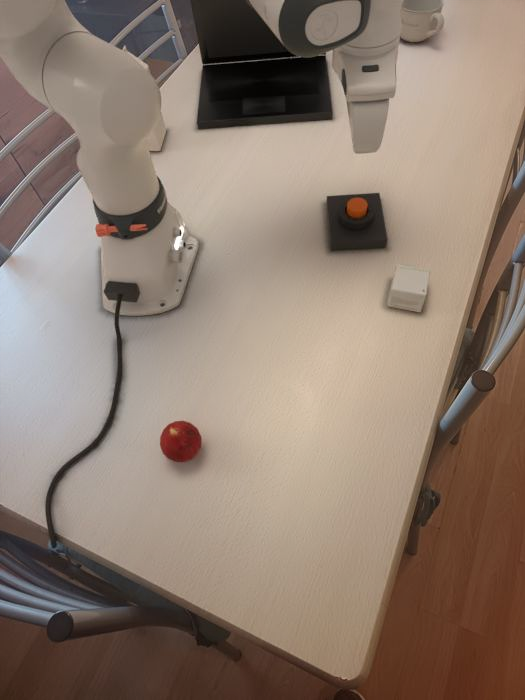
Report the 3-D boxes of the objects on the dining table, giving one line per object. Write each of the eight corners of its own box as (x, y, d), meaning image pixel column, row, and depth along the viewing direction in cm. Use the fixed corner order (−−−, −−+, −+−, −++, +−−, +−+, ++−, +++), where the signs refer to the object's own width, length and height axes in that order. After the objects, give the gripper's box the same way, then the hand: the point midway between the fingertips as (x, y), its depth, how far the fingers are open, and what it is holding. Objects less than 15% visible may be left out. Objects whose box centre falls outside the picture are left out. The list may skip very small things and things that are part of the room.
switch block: (385, 248, 91) (388, 232, 87) (330, 251, 91) (331, 236, 88) (378, 201, 97) (380, 185, 93) (326, 204, 97) (326, 188, 94)
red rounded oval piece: (206, 430, 76) (195, 409, 69) (205, 467, 73) (194, 449, 66) (168, 432, 76) (154, 412, 69) (165, 470, 73) (150, 452, 66)
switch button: (367, 218, 90) (368, 211, 88) (347, 219, 90) (348, 212, 89) (365, 203, 92) (366, 196, 90) (345, 205, 92) (346, 197, 90)
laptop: (332, 119, 110) (332, 111, 109) (198, 129, 112) (196, 121, 111) (325, 62, 121) (325, 54, 120) (203, 72, 123) (202, 64, 122)
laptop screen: (329, -54, 100) (329, -56, 101) (182, -40, 102) (182, -42, 103) (325, 54, 120) (325, 52, 120) (202, 65, 122) (202, 62, 122)
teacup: (385, 30, 126) (389, -6, 119) (424, 19, 127) (431, -16, 120) (409, 58, 119) (415, 23, 112) (451, 47, 120) (459, 11, 113)
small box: (425, 286, 86) (431, 268, 81) (420, 313, 83) (426, 296, 79) (391, 280, 87) (396, 262, 83) (386, 307, 84) (390, 289, 80)
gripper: (335, 14, 74) (332, 100, 86) (348, 98, 64) (342, 183, 75) (379, 10, 73) (369, 98, 85) (398, 94, 63) (384, 181, 75)
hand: (356, 139), depth 80 cm, fingers closed
